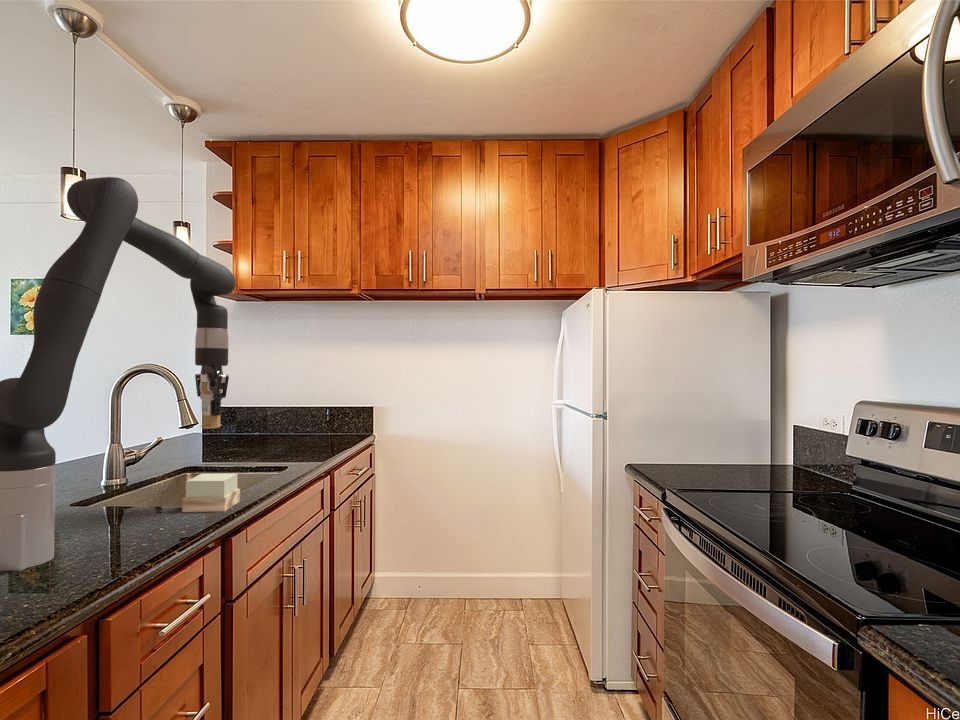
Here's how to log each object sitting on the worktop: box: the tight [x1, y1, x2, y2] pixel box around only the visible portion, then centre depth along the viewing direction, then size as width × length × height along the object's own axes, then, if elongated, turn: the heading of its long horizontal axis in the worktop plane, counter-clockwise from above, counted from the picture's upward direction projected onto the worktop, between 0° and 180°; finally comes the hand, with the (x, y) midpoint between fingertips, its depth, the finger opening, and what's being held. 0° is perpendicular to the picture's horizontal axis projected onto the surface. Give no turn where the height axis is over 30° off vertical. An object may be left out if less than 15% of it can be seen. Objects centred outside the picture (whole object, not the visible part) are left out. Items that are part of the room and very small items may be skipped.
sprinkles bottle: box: [201, 375, 222, 429], centre depth 140 cm, size 5×5×14 cm
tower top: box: [185, 473, 238, 498], centre depth 139 cm, size 9×9×4 cm
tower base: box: [181, 488, 241, 513], centre depth 139 cm, size 10×10×4 cm
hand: (210, 414), depth 139 cm, fingers closed on sprinkles bottle, 4 cm apart
